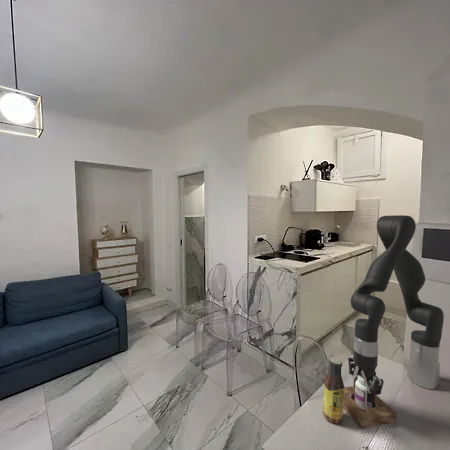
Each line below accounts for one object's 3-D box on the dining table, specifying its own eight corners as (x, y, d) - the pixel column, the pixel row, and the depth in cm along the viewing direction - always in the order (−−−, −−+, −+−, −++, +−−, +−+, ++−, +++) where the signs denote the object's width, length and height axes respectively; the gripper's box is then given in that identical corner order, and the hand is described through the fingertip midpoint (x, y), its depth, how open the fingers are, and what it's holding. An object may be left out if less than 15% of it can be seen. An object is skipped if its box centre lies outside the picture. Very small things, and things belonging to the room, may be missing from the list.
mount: (363, 391, 94) (364, 384, 94) (396, 421, 80) (396, 413, 80) (332, 396, 91) (333, 389, 91) (361, 429, 77) (361, 420, 77)
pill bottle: (367, 398, 88) (368, 373, 87) (374, 410, 83) (376, 383, 82) (351, 397, 88) (353, 372, 88) (358, 408, 83) (359, 382, 83)
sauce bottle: (334, 427, 78) (336, 368, 77) (318, 413, 83) (320, 358, 82) (347, 420, 81) (349, 363, 80) (331, 406, 86) (333, 353, 85)
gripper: (392, 360, 78) (389, 410, 79) (359, 338, 92) (357, 380, 93) (373, 363, 77) (370, 413, 78) (342, 340, 91) (340, 383, 92)
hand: (363, 395), depth 85 cm, fingers closed on pill bottle, 5 cm apart
